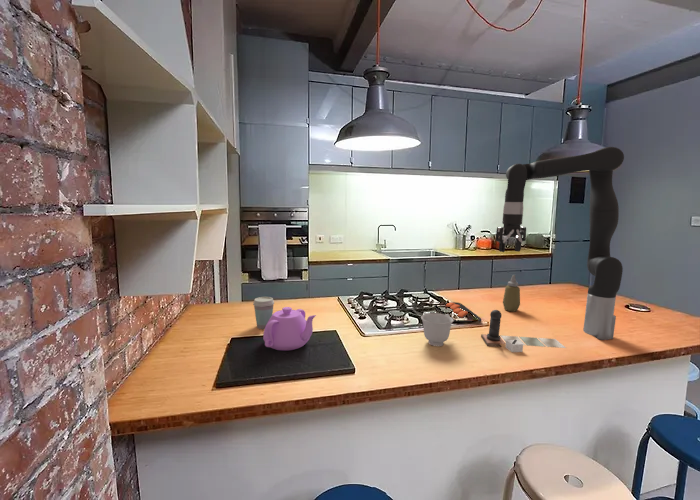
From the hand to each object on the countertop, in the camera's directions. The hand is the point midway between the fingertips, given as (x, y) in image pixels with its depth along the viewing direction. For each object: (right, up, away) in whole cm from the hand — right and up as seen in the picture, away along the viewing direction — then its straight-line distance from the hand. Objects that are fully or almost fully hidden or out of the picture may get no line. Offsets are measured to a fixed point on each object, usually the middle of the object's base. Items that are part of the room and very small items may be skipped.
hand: (509, 251), depth 145 cm
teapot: (-89, -35, -19) cm, 98 cm away
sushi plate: (-24, -31, +21) cm, 44 cm away
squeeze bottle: (+14, -30, +28) cm, 43 cm away
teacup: (-34, -35, -14) cm, 51 cm away
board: (-2, -35, -14) cm, 38 cm away
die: (-9, -36, -22) cm, 44 cm away
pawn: (-12, -34, -13) cm, 38 cm away
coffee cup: (-104, -32, -1) cm, 109 cm away
